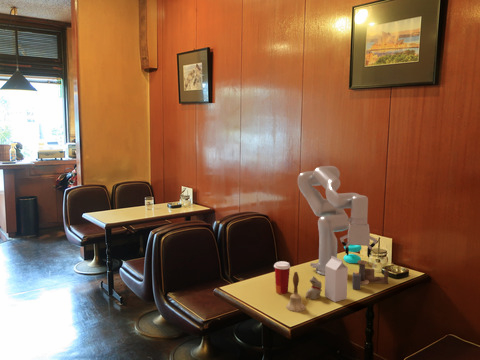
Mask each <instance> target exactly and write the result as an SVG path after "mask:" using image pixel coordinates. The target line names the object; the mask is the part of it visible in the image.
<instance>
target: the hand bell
mask: <svg viewBox="0 0 480 360" xmlns="http://www.w3.org/2000/svg"><path fill="white" fill-rule="evenodd" d="M292 283H293V284H292V285H293V293H292V294H290V297H289V299H290V300H289V302H288V303H287V304H286V307H285V308H286V309H287V310H288V311H289V312H295V313H299V312H303V311H305V309H306V306H305V305H304V304H303V301H302V296H301V294H299V291H298V289H299V287H298V286H299V283H300V277H299V273H298V272H297V271H294V273H293V275H292Z"/></svg>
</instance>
